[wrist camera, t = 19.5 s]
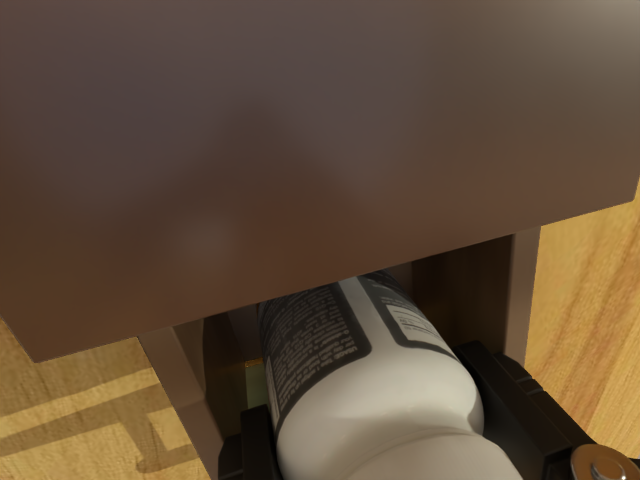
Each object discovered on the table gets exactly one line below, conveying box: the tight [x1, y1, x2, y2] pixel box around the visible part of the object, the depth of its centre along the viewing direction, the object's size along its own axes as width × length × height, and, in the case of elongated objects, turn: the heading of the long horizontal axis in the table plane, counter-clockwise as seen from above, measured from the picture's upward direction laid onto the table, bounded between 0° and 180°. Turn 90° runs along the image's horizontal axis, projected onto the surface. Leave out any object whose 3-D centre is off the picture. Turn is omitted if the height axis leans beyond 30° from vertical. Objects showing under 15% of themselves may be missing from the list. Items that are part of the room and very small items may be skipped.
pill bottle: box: [256, 268, 523, 480], centre depth 12 cm, size 6×6×10 cm
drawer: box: [137, 226, 541, 480], centre depth 14 cm, size 20×11×8 cm, turn 10°
